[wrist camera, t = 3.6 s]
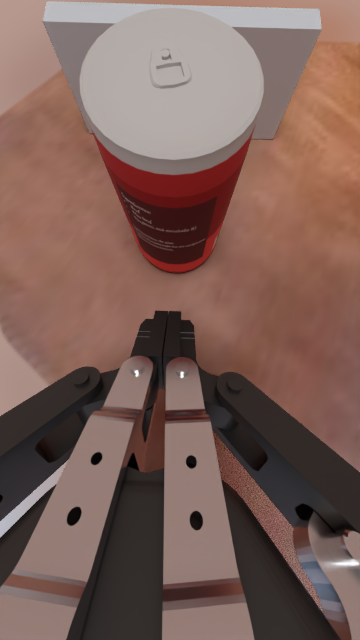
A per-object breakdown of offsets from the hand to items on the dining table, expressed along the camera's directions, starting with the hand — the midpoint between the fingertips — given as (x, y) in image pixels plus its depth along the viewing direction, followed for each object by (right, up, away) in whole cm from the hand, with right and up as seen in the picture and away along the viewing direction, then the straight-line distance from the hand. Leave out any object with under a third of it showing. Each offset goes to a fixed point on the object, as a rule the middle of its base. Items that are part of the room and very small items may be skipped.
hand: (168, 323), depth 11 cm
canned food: (0, +8, +7) cm, 11 cm away
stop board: (+1, +24, +10) cm, 26 cm away
